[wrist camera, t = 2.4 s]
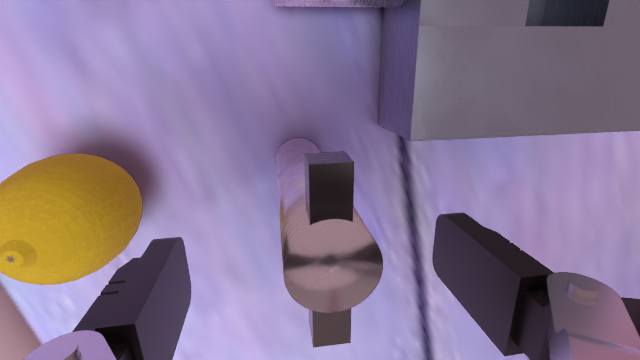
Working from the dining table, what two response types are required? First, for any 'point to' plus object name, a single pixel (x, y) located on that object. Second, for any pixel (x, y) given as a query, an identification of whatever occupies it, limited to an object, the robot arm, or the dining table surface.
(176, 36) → the dining table surface
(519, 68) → the block
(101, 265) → the lemon
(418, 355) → the dining table surface
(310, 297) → the chuck key
